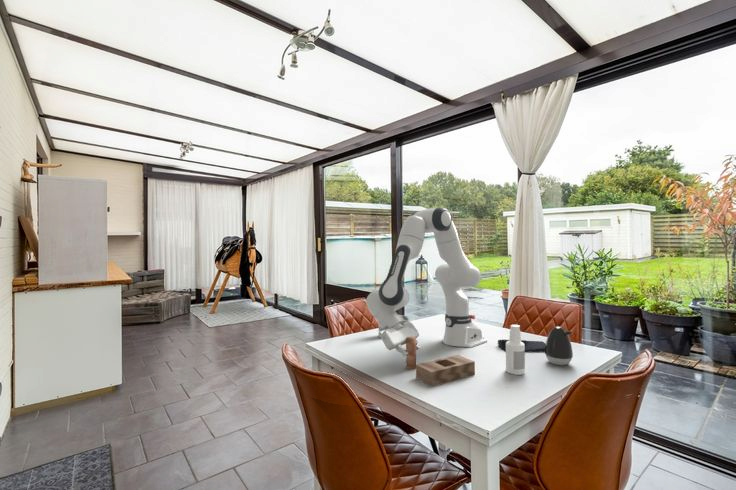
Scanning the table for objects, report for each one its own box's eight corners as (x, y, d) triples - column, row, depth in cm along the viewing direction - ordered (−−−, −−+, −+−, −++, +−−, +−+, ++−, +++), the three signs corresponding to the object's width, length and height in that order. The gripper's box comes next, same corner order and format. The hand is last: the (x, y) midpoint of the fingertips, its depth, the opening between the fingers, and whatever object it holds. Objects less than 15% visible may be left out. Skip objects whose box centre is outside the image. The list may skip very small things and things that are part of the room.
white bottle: (523, 376, 131) (523, 328, 131) (504, 373, 135) (504, 326, 135) (526, 370, 137) (525, 324, 137) (507, 367, 141) (507, 322, 140)
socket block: (458, 367, 141) (457, 354, 141) (474, 374, 134) (474, 361, 133) (416, 377, 131) (415, 364, 131) (431, 386, 123) (431, 372, 123)
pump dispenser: (564, 369, 137) (564, 331, 137) (539, 362, 146) (539, 325, 146) (578, 364, 143) (578, 327, 143) (553, 357, 152) (553, 322, 151)
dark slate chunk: (554, 354, 157) (554, 344, 157) (502, 353, 160) (502, 342, 160) (541, 344, 172) (541, 334, 172) (495, 343, 175) (495, 333, 175)
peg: (412, 365, 144) (412, 336, 144) (418, 368, 141) (418, 338, 140) (404, 367, 142) (404, 337, 142) (410, 370, 139) (409, 340, 138)
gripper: (381, 324, 137) (402, 354, 131) (409, 315, 153) (429, 341, 147) (372, 334, 140) (393, 363, 134) (401, 324, 156) (420, 350, 150)
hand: (412, 352), depth 141 cm, fingers open, 8 cm apart
